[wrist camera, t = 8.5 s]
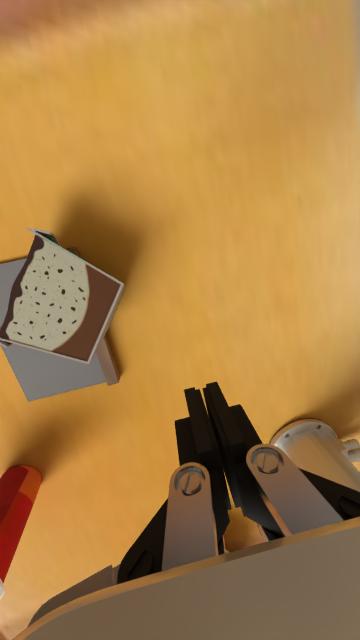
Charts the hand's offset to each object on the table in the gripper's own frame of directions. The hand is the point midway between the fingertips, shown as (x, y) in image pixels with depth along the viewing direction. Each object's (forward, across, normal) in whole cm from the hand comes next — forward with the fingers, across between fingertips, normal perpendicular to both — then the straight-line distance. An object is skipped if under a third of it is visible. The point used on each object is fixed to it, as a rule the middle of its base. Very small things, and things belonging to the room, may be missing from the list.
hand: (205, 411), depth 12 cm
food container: (+18, +7, -2) cm, 19 cm away
